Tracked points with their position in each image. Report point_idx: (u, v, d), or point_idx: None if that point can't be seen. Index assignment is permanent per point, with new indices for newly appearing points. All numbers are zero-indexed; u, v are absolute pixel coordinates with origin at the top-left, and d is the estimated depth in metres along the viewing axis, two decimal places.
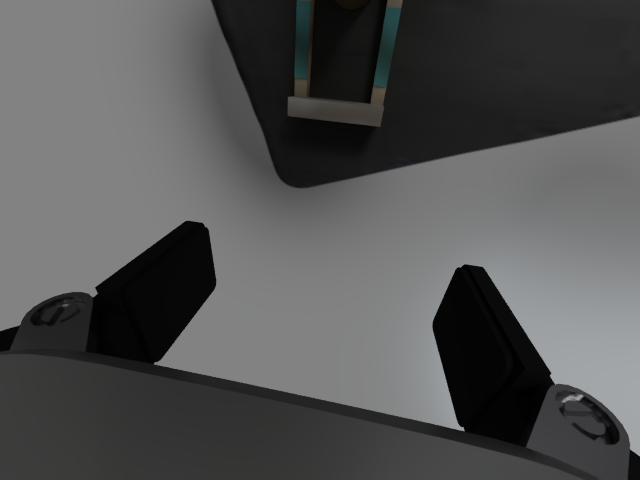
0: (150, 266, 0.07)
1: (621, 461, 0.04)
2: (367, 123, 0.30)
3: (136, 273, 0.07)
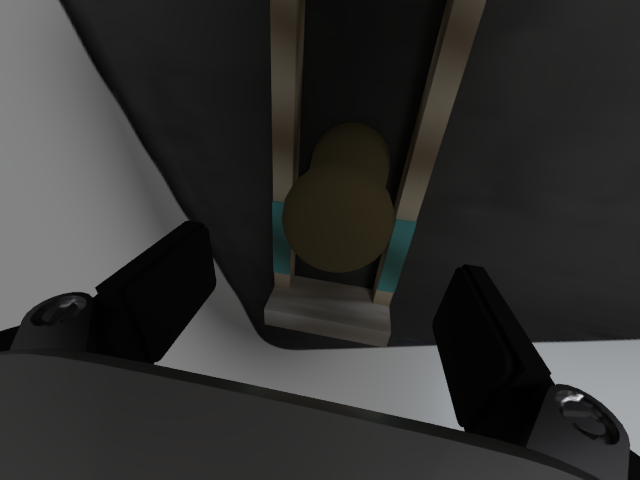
0: (150, 266, 0.07)
1: (621, 461, 0.04)
2: (368, 342, 0.23)
3: (137, 273, 0.07)
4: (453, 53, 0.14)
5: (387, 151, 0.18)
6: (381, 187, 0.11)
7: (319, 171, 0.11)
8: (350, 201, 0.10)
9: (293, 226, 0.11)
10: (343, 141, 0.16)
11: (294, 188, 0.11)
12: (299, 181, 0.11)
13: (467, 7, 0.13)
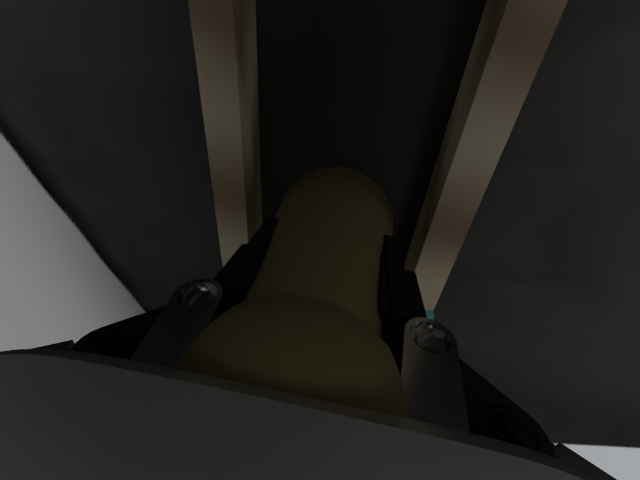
0: (257, 257, 0.08)
1: (455, 361, 0.06)
2: None
3: (250, 262, 0.08)
4: (510, 64, 0.08)
5: (389, 211, 0.12)
6: (384, 387, 0.04)
7: (229, 353, 0.04)
8: None
9: None
10: (317, 210, 0.09)
11: None
12: (189, 361, 0.05)
13: None
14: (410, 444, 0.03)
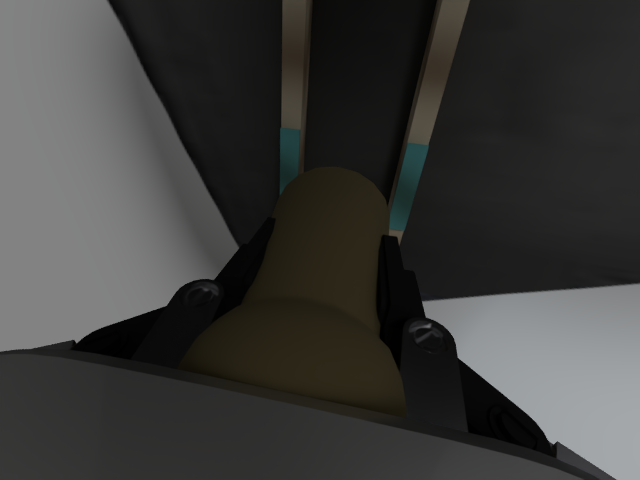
0: (258, 257, 0.08)
1: (453, 360, 0.06)
2: None
3: (252, 262, 0.08)
4: None
5: (385, 211, 0.12)
6: (385, 389, 0.04)
7: (229, 357, 0.04)
8: None
9: None
10: (314, 211, 0.09)
11: None
12: (188, 366, 0.05)
13: None
14: (410, 444, 0.03)
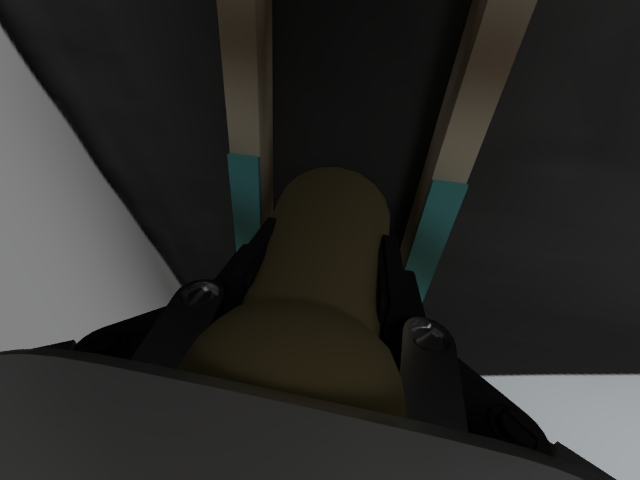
0: (258, 257, 0.08)
1: (454, 360, 0.06)
2: None
3: (252, 262, 0.08)
4: None
5: (386, 211, 0.12)
6: (385, 389, 0.04)
7: (229, 358, 0.04)
8: None
9: None
10: (315, 211, 0.09)
11: None
12: (188, 366, 0.05)
13: None
14: (410, 444, 0.03)
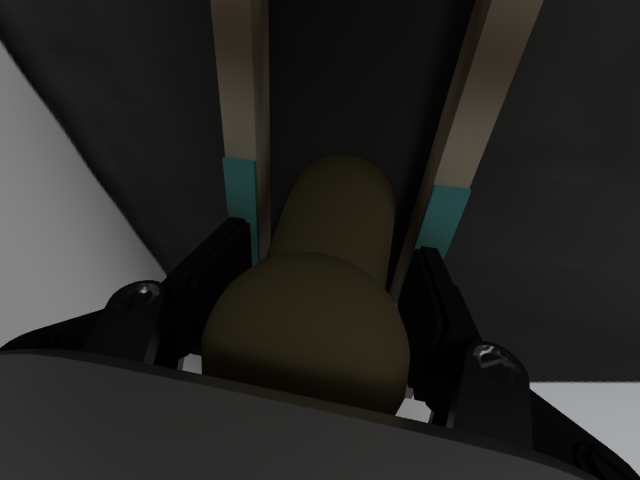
0: (209, 257, 0.08)
1: (525, 395, 0.05)
2: None
3: (199, 263, 0.07)
4: None
5: (391, 195, 0.13)
6: (385, 315, 0.06)
7: (261, 286, 0.05)
8: (320, 365, 0.05)
9: None
10: (326, 190, 0.10)
11: (215, 314, 0.06)
12: (227, 298, 0.06)
13: None
14: (410, 444, 0.03)
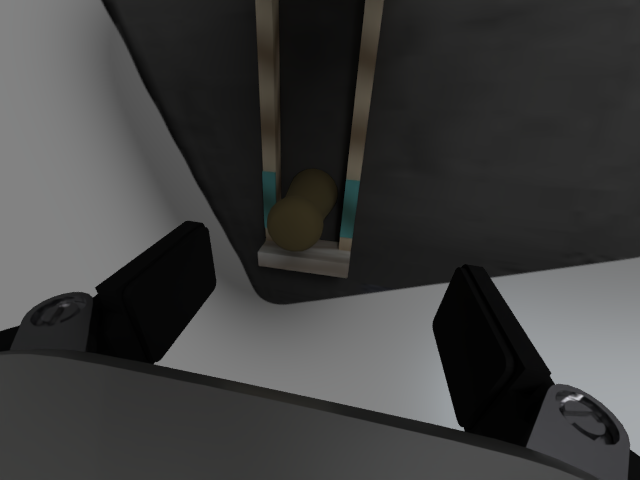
0: (150, 266, 0.07)
1: (621, 461, 0.04)
2: (334, 275, 0.31)
3: (137, 272, 0.07)
4: (365, 69, 0.24)
5: (333, 185, 0.31)
6: (313, 207, 0.23)
7: (283, 200, 0.23)
8: (296, 214, 0.22)
9: (271, 227, 0.23)
10: (303, 182, 0.28)
11: (271, 209, 0.23)
12: (274, 205, 0.23)
13: (369, 44, 0.23)
14: (410, 444, 0.03)
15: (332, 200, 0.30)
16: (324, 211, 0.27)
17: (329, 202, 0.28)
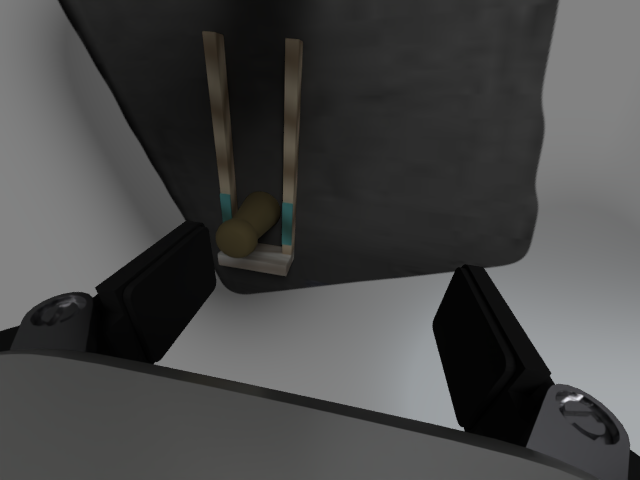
0: (150, 266, 0.07)
1: (621, 461, 0.04)
2: (276, 273, 0.41)
3: (136, 272, 0.07)
4: (289, 127, 0.33)
5: (275, 205, 0.40)
6: (247, 228, 0.32)
7: (226, 222, 0.32)
8: (234, 233, 0.31)
9: (218, 241, 0.32)
10: (248, 204, 0.37)
11: (218, 228, 0.32)
12: (220, 225, 0.32)
13: (290, 110, 0.32)
14: (410, 444, 0.03)
15: (273, 217, 0.39)
16: (262, 227, 0.36)
17: (269, 219, 0.38)
